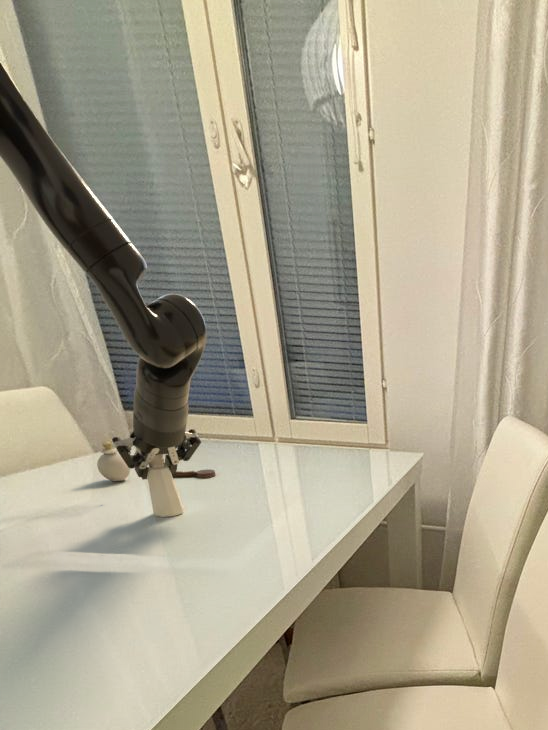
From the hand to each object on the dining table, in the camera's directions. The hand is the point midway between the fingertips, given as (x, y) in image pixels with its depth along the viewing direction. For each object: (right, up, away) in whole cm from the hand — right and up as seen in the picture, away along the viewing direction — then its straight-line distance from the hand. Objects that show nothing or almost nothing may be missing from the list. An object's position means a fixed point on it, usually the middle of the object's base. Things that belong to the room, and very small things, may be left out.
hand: (155, 473), depth 101 cm
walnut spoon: (-8, +7, +25) cm, 27 cm away
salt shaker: (+1, -7, +3) cm, 7 cm away
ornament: (-21, +5, +21) cm, 30 cm away
